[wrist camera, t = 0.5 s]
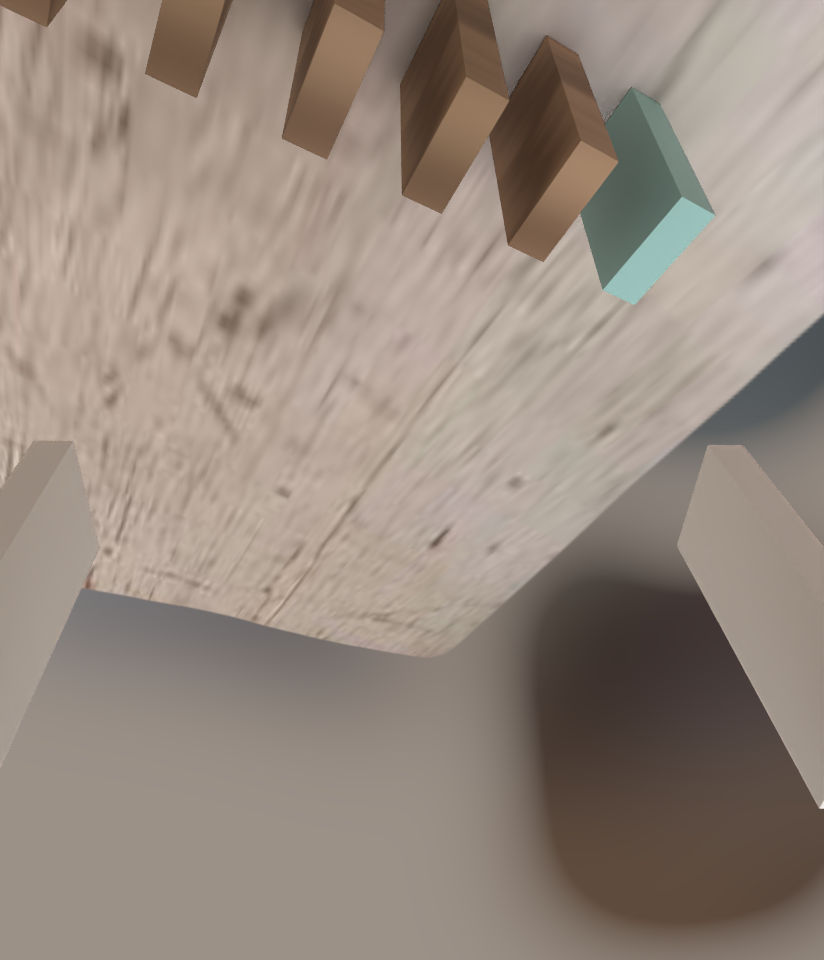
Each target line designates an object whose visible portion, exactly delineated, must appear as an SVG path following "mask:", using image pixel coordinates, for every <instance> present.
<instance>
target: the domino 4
mask: <svg viewBox="0 0 824 960" xmlns="http://www.w3.org/2000/svg"><path fill="white" fill-rule="evenodd" d="M489 136H490V142H491V148H492V154H493V160H494V166H495V171H496V177H497V183H498V189H499V195H500V201H501V207H502V213H503V219H504V225H505V231H506V237H507V242H508V246H511V247H513V248H515V249H517V250H519V251H521V252H523V253H525V254H528V255H530V256H532V257H534V258H536V259H538V260H540V261H542V262H544V260H545V259H546V258H547V256H548V255H549V254H550V253H551V251H552V250H553V249H554V247H555V246H556V245H557V243H558V242H559V241H560V239H561V238H562V237H563V235H564V234H565V233H566V231H567V230H568V229H569V227H570V226H571V225H572V223H573V222H574V221H575V219H576V218H577V217H578V215H579V214H580V213H581V211H582V210H583V209H584V207H585V206H586V205H587V203H588V202H589V201H590V199H591V198H592V197H593V195H594V194H595V193H596V191H597V190H598V189H599V187H600V186H601V185H602V183H603V182H604V181H605V179H606V178H607V177H608V175H609V174H610V173H611V171H612V170H613V169H614V167H615V166H616V165H617V163H618V162H619V161H618V158H617V155H616V153H615V150H614V147H613V145H612V142H611V140H610V137H609V134H608V132H607V129H606V126H605V124H604V121H603V119H602V116H601V113H600V111H599V108H598V105H597V103H596V100H595V98H594V95H593V92H592V90H591V87H590V84H589V82H588V79H587V76H586V74H585V71H584V69H583V66H582V63H581V61H580V58H579V55H578V54H576V53H575V52H573V51H571V50H570V49H568V48H566V47H565V46H563V45H562V44H560V43H558V42H557V41H555V40H553V39H552V38H550V37H548V36H547V35H546V37H545V39H544V40H543V42H542V44H541V45H540V47H539V49H538V50H537V52H536V54H535V55H534V57H533V59H532V60H531V62H530V64H529V65H528V67H527V69H526V71H525V72H524V74H523V76H522V77H521V79H520V81H519V82H518V84H517V86H516V87H515V89H514V91H513V92H512V94H511V96H510V97H509V102H508V104H507V106H506V107H505V109H504V111H503V112H502V114H501V116H500V117H499V119H498V121H497V122H496V124H495V126H494V127H493V129H492V131H491V132H490V134H489Z"/></svg>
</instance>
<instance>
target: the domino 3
mask: <svg viewBox="0 0 824 960" xmlns="http://www.w3.org/2000/svg"><path fill="white" fill-rule="evenodd" d="M400 100H401V168H402V195H403V196H405V197H407V198H409V199H411V200H413V201H415V202H418V203H420V204H422V205H424V206H426V207H428V208H430V209H432V210H435V211H437V212H439V213H441V214H442V212H443V211H444V209H445V207H446V206H447V204H448V202H449V201H450V199H451V197H452V196H453V194H454V192H455V191H456V189H457V187H458V186H459V184H460V182H461V181H462V179H463V177H464V176H465V174H466V172H467V171H468V169H469V167H470V166H471V164H472V162H473V161H474V159H475V157H476V156H477V154H478V152H479V151H480V149H481V147H482V146H483V144H484V142H485V141H486V139H487V137H488V136H489V134H490V132H491V131H492V129H493V127H494V126H495V124H496V122H497V121H498V119H499V117H500V116H501V114H502V112H503V111H504V109H505V107H506V106H507V104H508V102H509V96H508V92H507V87H506V82H505V78H504V73H503V69H502V64H501V60H500V55H499V51H498V46H497V42H496V37H495V32H494V28H493V23H492V19H491V14H490V10H489V5H488V1H487V0H441V2H440V4H439V6H438V8H437V10H436V12H435V14H434V16H433V18H432V20H431V22H430V24H429V27H428V29H427V31H426V33H425V35H424V37H423V39H422V41H421V43H420V45H419V47H418V49H417V51H416V53H415V55H414V58H413V60H412V62H411V64H410V66H409V68H408V70H407V72H406V74H405V76H404V78H403V80H402V82H401V84H400Z"/></svg>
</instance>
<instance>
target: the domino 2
mask: <svg viewBox="0 0 824 960" xmlns="http://www.w3.org/2000/svg"><path fill="white" fill-rule="evenodd" d="M384 14H385V0H314V3H313V5H312V8H311V11H310V13H309V16H308V19H307V22H306V24H305V27H304V30H303V32H302V37H301V42H300V47H299V53H298V58H297V63H296V68H295V73H294V78H293V84H292V89H291V94H290V99H289V104H288V109H287V114H286V120H285V125H284V130H283V135H282V139H284V140H286V141H288V142H291V143H293V144H295V145H297V146H299V147H301V148H303V149H305V150H308V151H310V152H312V153H314V154H316V155H318V156H320V157H322V158H325V159H327V158H328V156H329V154H330V152H331V149H332V147H333V145H334V143H335V140H336V138H337V136H338V134H339V131H340V129H341V127H342V125H343V122H344V120H345V118H346V116H347V113H348V111H349V109H350V107H351V104H352V102H353V100H354V98H355V95H356V93H357V91H358V89H359V86H360V84H361V82H362V80H363V77H364V75H365V73H366V71H367V69H368V66H369V64H370V62H371V60H372V57H373V55H374V53H375V51H376V48H377V46H378V44H379V42H380V39H381V37H382V35H383V33H384Z"/></svg>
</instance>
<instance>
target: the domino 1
mask: <svg viewBox="0 0 824 960" xmlns="http://www.w3.org/2000/svg"><path fill="white" fill-rule="evenodd" d="M232 1H233V0H162V4H161V8H160V12H159V17H158V21H157V25H156V29H155V34H154V38H153V42H152V47H151V51H150V55H149V59H148V64H147V68H146V72H145V74H146V75H149V76H151V77H153V78H155V79H157V80H159V81H161V82H164V83H166V84H168V85H170V86H172V87H174V88H176V89H178V90H181V91H183V92H185V93H187V94H189V95H191V96H193V97H195V98H197V96H198V93H199V90H200V87H201V85H202V82H203V79H204V77H205V74H206V71H207V68H208V66H209V63H210V60H211V58H212V55H213V52H214V49H215V47H216V44H217V41H218V39H219V36H220V33H221V30H222V28H223V25H224V22H225V20H226V17H227V14H228V11H229V9H230V6H231V3H232Z"/></svg>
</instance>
